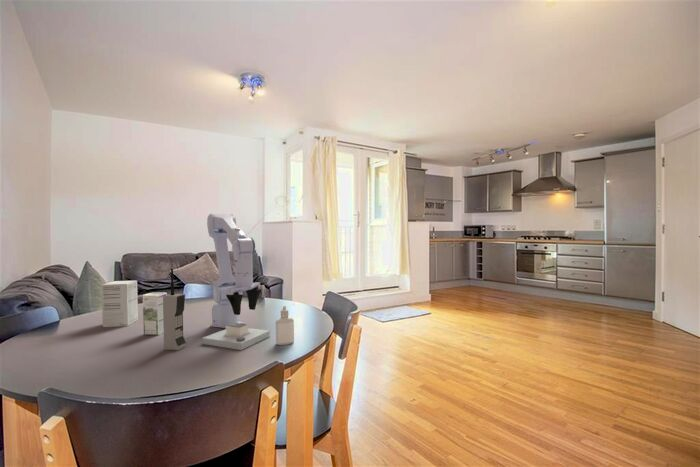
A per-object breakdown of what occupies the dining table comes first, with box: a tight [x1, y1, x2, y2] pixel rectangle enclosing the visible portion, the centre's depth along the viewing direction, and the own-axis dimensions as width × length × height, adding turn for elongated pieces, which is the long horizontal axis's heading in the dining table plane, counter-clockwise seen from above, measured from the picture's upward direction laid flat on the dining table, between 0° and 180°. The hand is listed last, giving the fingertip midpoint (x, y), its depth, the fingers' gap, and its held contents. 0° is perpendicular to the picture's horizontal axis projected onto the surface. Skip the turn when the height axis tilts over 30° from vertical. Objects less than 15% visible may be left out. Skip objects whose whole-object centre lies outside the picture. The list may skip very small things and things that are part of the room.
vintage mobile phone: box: [163, 268, 187, 351], centre depth 104 cm, size 4×5×25 cm
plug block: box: [225, 323, 249, 337], centre depth 111 cm, size 6×4×5 cm, turn 66°
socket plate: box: [201, 327, 271, 351], centre depth 111 cm, size 16×14×3 cm
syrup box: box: [142, 292, 168, 336], centre depth 121 cm, size 6×6×14 cm
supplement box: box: [101, 280, 139, 328], centre depth 135 cm, size 10×9×17 cm
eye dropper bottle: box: [275, 305, 295, 346], centre depth 107 cm, size 4×6×12 cm
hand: (244, 311), depth 116 cm, fingers open, 7 cm apart
